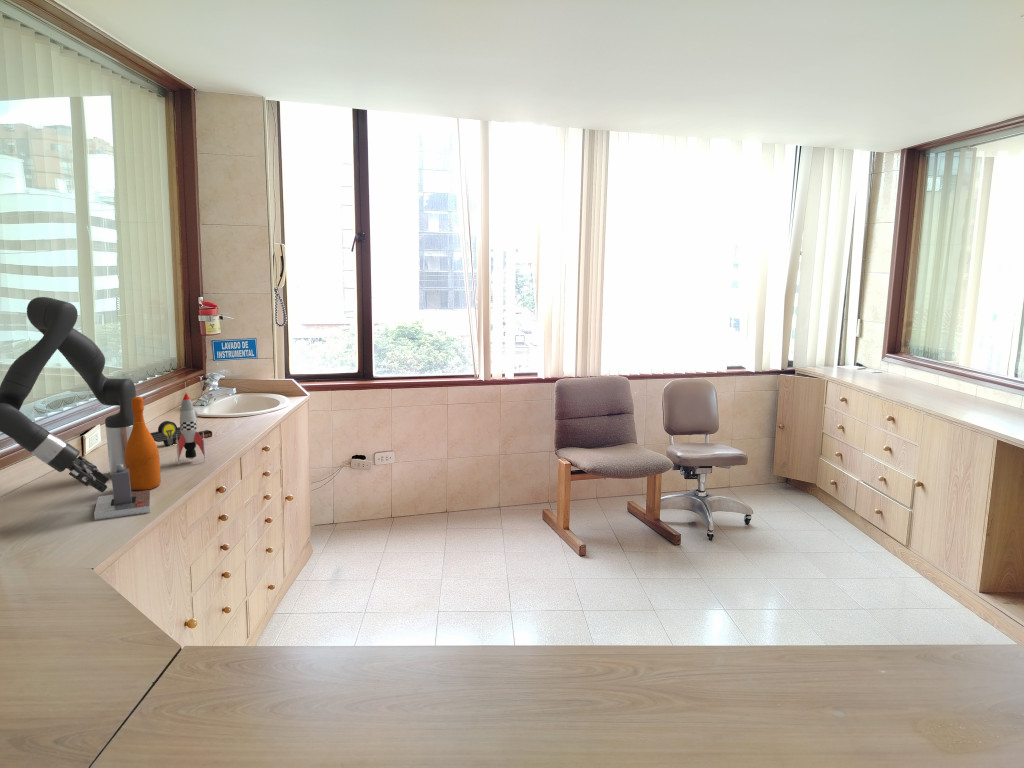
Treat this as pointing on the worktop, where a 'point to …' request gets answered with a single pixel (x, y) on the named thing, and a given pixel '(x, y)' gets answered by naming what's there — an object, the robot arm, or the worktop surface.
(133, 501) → the socket
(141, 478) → the wine bottle
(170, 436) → the decorative sign
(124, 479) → the plug
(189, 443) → the toy
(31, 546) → the worktop surface
